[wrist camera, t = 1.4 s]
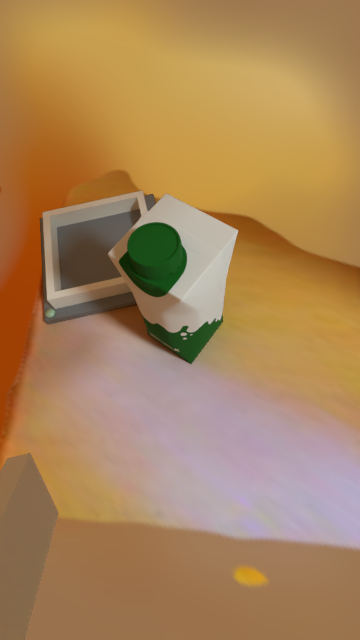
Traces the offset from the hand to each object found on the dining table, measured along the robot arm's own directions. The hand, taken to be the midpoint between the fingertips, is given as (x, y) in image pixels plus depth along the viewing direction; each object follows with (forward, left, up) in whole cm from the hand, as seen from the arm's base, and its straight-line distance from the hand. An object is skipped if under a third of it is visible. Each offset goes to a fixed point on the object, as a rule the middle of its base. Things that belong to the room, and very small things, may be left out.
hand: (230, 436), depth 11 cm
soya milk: (-1, -16, -27) cm, 32 cm away
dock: (+8, -30, -27) cm, 41 cm away
